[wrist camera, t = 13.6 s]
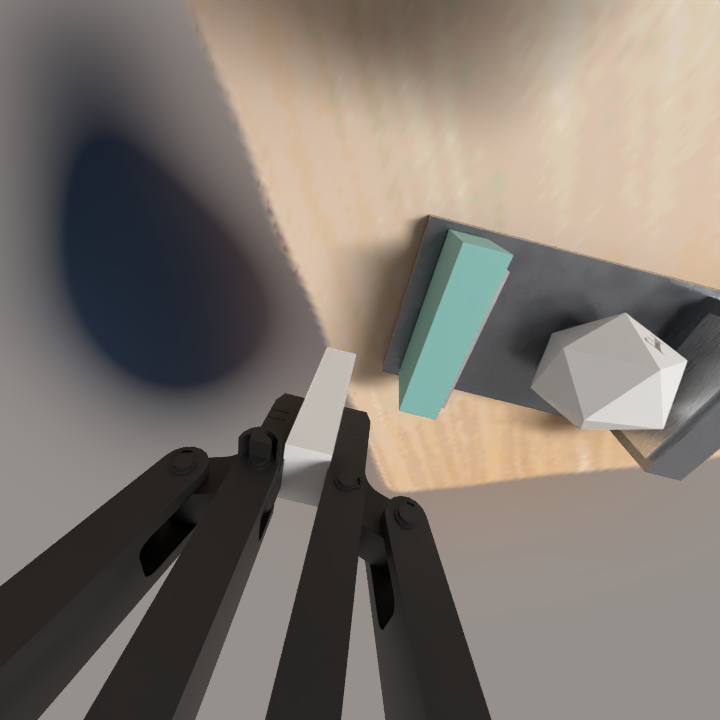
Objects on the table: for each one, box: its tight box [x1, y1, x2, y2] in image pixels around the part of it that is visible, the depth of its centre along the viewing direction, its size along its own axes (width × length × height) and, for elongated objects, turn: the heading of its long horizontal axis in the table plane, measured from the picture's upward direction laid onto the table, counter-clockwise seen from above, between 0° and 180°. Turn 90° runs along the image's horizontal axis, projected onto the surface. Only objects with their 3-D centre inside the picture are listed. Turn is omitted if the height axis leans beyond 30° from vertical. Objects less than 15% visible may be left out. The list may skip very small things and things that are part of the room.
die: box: [530, 313, 688, 430], centre depth 23 cm, size 8×9×10 cm
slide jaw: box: [399, 229, 513, 420], centre depth 23 cm, size 13×3×6 cm, turn 167°
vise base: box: [383, 215, 720, 481], centre depth 24 cm, size 14×26×8 cm, turn 77°
